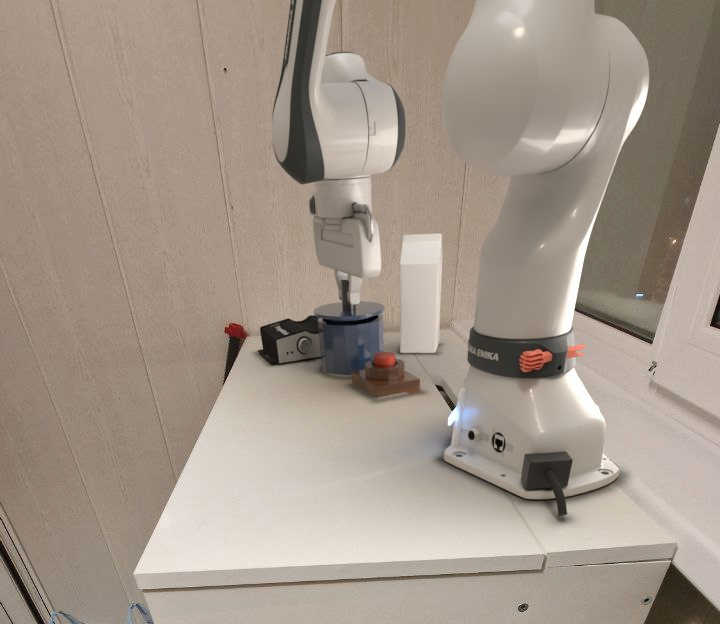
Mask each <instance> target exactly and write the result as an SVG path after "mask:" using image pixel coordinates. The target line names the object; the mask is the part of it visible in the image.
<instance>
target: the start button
mask: <svg viewBox="0 0 720 624" xmlns="http://www.w3.org/2000/svg"><path fill="white" fill-rule="evenodd" d="M396 359H397V357H396V352H393V351H384V352H379V353H376V354H374V366H375V367H391V366H395V365H396Z"/></svg>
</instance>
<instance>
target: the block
mask: <svg viewBox="0 0 720 624" xmlns="http://www.w3.org/2000/svg"><path fill="white" fill-rule="evenodd" d="M405 364H406V363H405V361H404V360H402V359H399V358H396V365H395V366H391V367H375V366H374V360H371V361H369V362H366V364H365V369H364V370H359V371H353V372H352V375H351V379H352V380H351V381H352V383H353V384H355V385H356V386H357V387H359V388H361V389H362V390H364V391H366V392H367V393H368V394H370V395H372V396H373V397H375V398H382V397H388V396H394V395H397V394H402V393H406V394H408V395H412V394H418V393H421V389H420V388H421V378H420V377H417V376H416V375H414V374H412V373H410V372H408V371H406V370H405V366H406V365H405Z"/></svg>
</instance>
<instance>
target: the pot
mask: <svg viewBox="0 0 720 624" xmlns="http://www.w3.org/2000/svg"><path fill="white" fill-rule="evenodd" d="M383 316H384V315H383V313H381V314H379V315H376V316H372V317H370V318H367V319H362V320H356V321H333V320H328V319H323V318H319V319H318V328H319V339H320V351H321V358H320V360H321V362H320V363H321V370H322V373H323V374H332V375H337V376H338V375H339V376H352V372H353V371H359V370H364V369H365V364H366V362H369V361H371V360H374V354H376V353H379V352H385V349H384V345H385V343H384V317H383Z"/></svg>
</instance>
